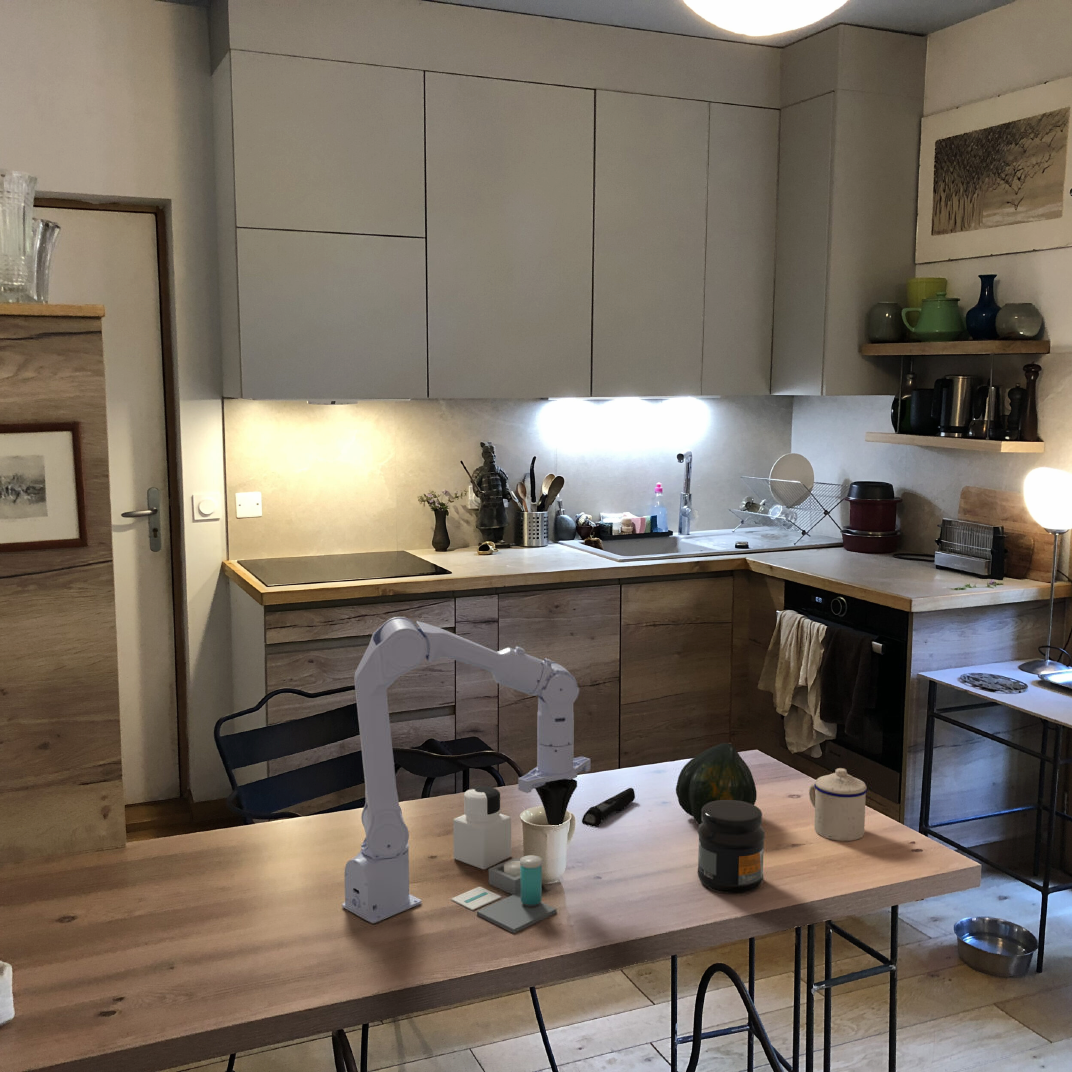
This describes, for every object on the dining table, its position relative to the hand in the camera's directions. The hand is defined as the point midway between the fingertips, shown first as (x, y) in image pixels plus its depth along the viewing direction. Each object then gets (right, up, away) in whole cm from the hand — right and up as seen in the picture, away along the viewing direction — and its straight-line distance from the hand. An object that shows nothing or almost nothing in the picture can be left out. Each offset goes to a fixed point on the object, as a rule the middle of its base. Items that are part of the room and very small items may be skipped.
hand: (555, 824), depth 171 cm
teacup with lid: (+51, -8, +24) cm, 57 cm away
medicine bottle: (-12, -9, +12) cm, 19 cm away
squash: (+30, -7, +29) cm, 42 cm away
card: (-12, -11, -3) cm, 17 cm away
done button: (-6, -10, +2) cm, 12 cm away
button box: (-6, -10, +2) cm, 12 cm away
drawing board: (-6, -11, -8) cm, 15 cm away
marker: (-4, -10, -6) cm, 13 cm away
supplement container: (+28, -10, +3) cm, 30 cm away
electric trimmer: (+11, -7, +32) cm, 34 cm away
